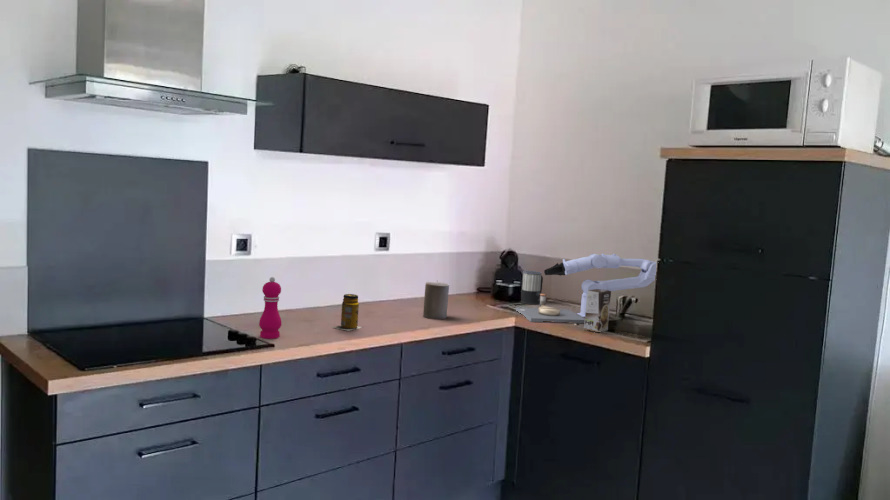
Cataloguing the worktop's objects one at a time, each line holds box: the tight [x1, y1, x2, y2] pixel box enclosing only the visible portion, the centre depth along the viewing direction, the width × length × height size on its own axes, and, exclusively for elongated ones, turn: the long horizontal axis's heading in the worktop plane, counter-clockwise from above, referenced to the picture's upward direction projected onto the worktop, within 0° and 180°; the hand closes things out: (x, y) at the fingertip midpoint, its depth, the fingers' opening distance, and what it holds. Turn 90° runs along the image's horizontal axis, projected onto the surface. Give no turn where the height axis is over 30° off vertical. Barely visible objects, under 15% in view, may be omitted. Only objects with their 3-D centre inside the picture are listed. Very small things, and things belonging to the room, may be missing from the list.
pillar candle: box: [422, 280, 450, 320], centre depth 293 cm, size 10×10×15 cm
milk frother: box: [520, 270, 544, 305], centre depth 347 cm, size 14×16×15 cm
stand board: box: [515, 307, 585, 324], centre depth 310 cm, size 24×24×2 cm
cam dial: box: [538, 293, 561, 315], centre depth 312 cm, size 16×9×7 cm, turn 9°
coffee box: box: [583, 289, 612, 333], centre depth 287 cm, size 9×6×16 cm
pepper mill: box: [258, 276, 282, 340], centre depth 239 cm, size 7×7×20 cm
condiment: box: [332, 293, 363, 332], centre depth 262 cm, size 7×8×12 cm
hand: (545, 272), depth 315 cm, fingers open, 7 cm apart
